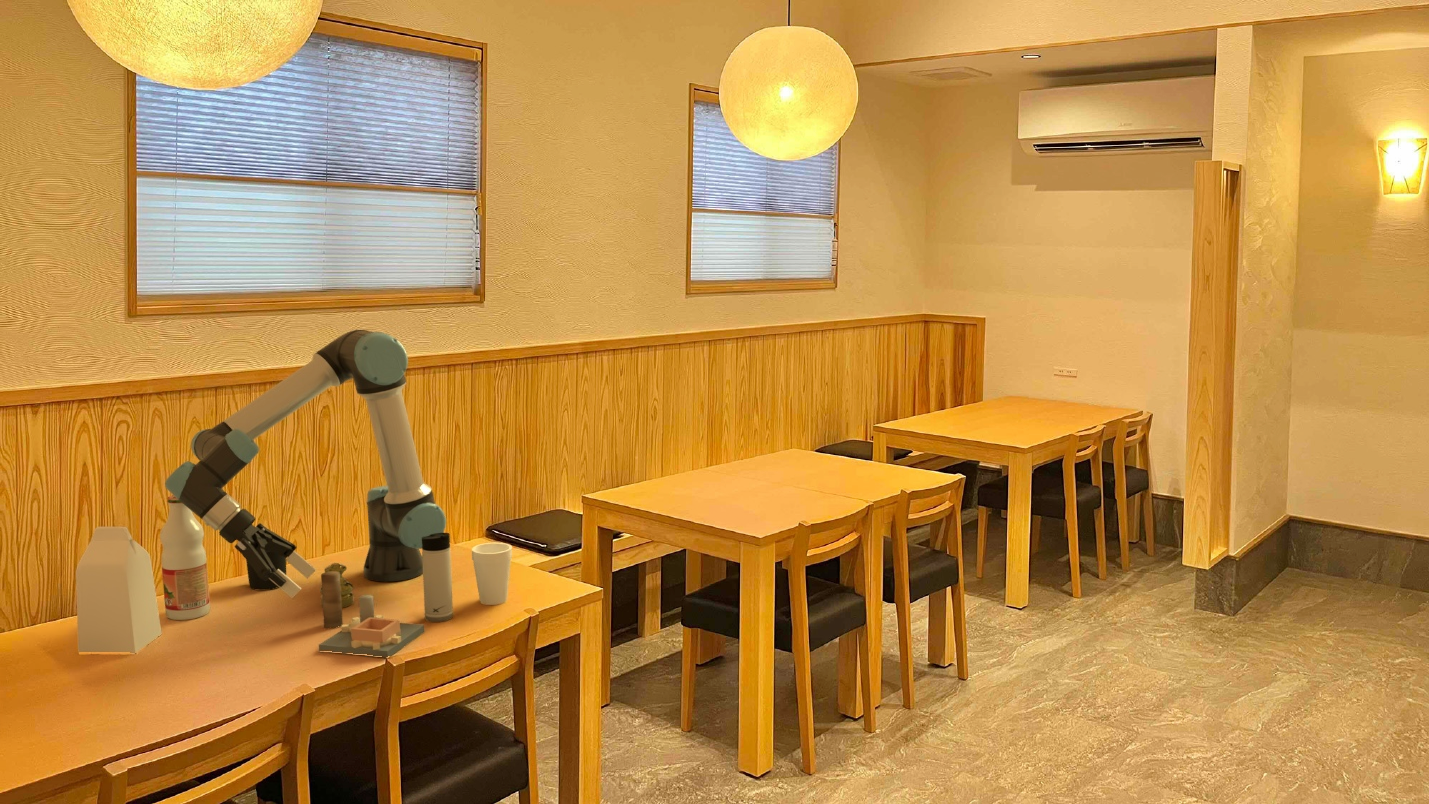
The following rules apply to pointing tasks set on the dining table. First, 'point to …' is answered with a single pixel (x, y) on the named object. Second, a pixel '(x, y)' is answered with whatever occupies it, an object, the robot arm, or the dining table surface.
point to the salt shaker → (345, 586)
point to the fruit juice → (184, 564)
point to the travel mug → (437, 577)
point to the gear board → (372, 633)
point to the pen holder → (258, 583)
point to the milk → (115, 594)
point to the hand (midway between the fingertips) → (304, 583)
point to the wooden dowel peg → (331, 599)
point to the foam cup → (492, 571)
